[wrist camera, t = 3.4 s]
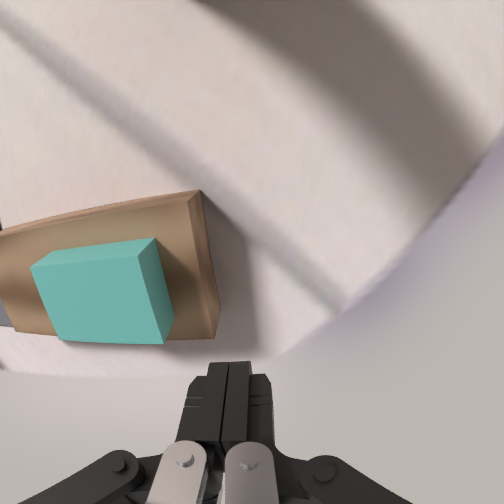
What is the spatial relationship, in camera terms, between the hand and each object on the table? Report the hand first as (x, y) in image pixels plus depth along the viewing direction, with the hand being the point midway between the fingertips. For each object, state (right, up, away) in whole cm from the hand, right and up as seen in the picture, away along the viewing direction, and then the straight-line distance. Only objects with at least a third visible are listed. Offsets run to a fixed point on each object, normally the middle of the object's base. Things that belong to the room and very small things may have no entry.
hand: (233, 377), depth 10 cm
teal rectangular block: (-10, +3, +9) cm, 13 cm away
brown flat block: (-13, +4, +13) cm, 19 cm away
